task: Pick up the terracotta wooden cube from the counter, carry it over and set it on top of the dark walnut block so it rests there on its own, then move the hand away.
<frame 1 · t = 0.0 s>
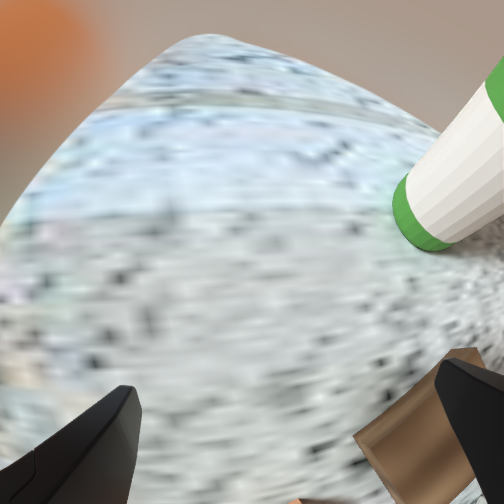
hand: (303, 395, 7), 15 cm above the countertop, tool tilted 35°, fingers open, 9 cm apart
walnut block: (429, 436, 20), on the countertop
wine bottle: (420, 217, 26), on the countertop
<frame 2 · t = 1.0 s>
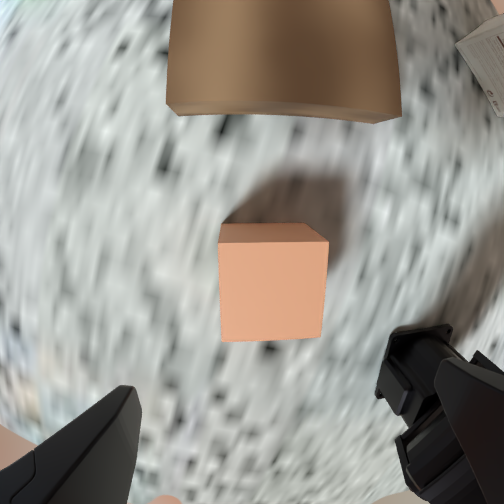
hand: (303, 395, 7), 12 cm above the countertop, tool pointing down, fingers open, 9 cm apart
terracotta cube: (262, 262, 19), on the countertop
supplement box: (490, 66, 16), on the countertop
walnut block: (278, 31, 15), on the countertop
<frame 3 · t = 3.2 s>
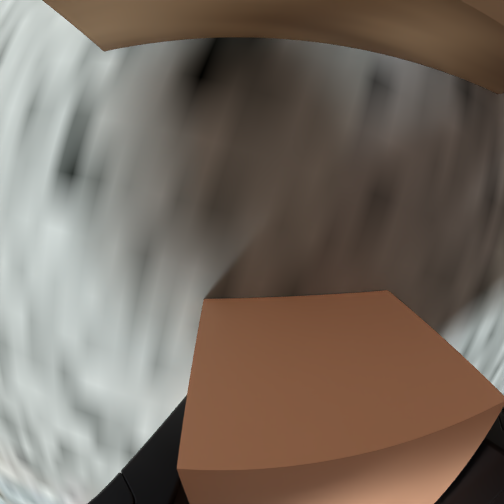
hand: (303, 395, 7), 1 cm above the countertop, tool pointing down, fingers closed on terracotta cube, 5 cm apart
terracotta cube: (296, 372, 8), on the countertop, touching gripper
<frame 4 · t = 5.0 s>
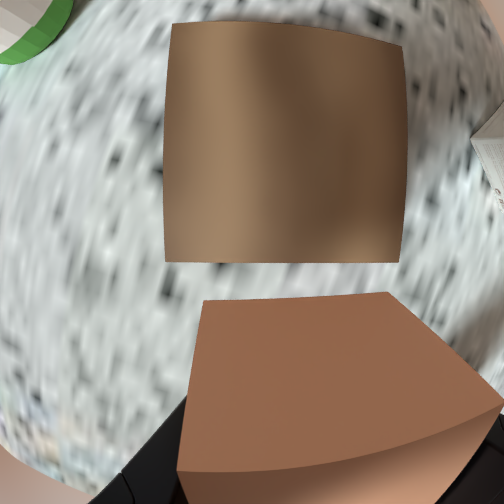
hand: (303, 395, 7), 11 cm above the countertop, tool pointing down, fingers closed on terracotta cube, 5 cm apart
terracotta cube: (296, 374, 8), point 10 cm above the countertop, touching gripper
supplement box: (503, 154, 18), on the countertop
walnut block: (282, 143, 17), on the countertop
wine bottle: (37, 24, 13), on the countertop
when the fingers open (6 cm above the countertop, at t = 7.3 s): terracotta cube drops 2 cm, resting on walnut block.
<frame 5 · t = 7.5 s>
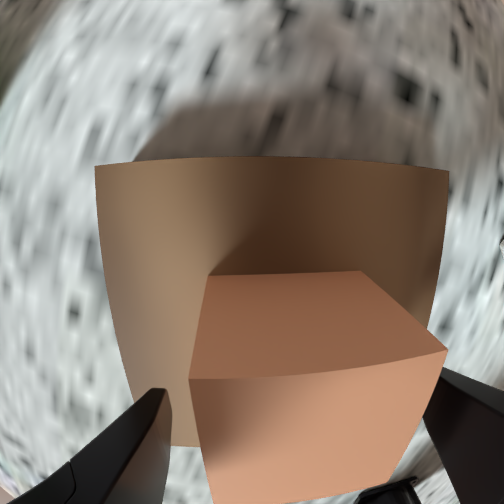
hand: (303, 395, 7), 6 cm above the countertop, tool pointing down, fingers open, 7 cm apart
terracotta cube: (284, 341, 10), point 4 cm above the countertop, touching walnut block
walnut block: (271, 293, 14), on the countertop, touching terracotta cube
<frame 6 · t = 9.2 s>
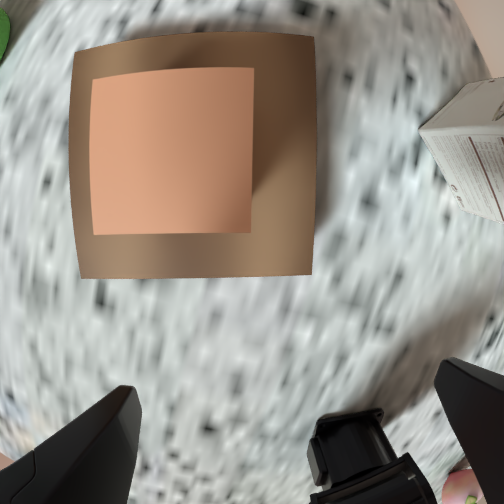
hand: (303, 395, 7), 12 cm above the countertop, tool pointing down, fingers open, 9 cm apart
terracotta cube: (187, 153, 13), point 4 cm above the countertop, touching walnut block
decorative fruit: (452, 470, 33), on the countertop
supplement box: (463, 145, 17), on the countertop
walnut block: (194, 154, 17), on the countertop, touching terracotta cube
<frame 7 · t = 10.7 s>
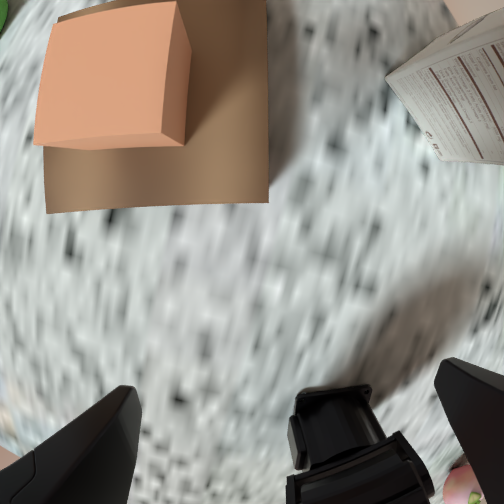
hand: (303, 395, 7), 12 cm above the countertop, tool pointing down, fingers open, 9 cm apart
terracotta cube: (137, 98, 13), point 4 cm above the countertop
decorative fruit: (454, 466, 31), on the countertop
supplement box: (437, 96, 17), on the countertop
walnut block: (161, 103, 16), on the countertop
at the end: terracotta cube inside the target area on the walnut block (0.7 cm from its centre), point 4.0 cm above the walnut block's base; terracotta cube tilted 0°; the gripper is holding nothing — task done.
